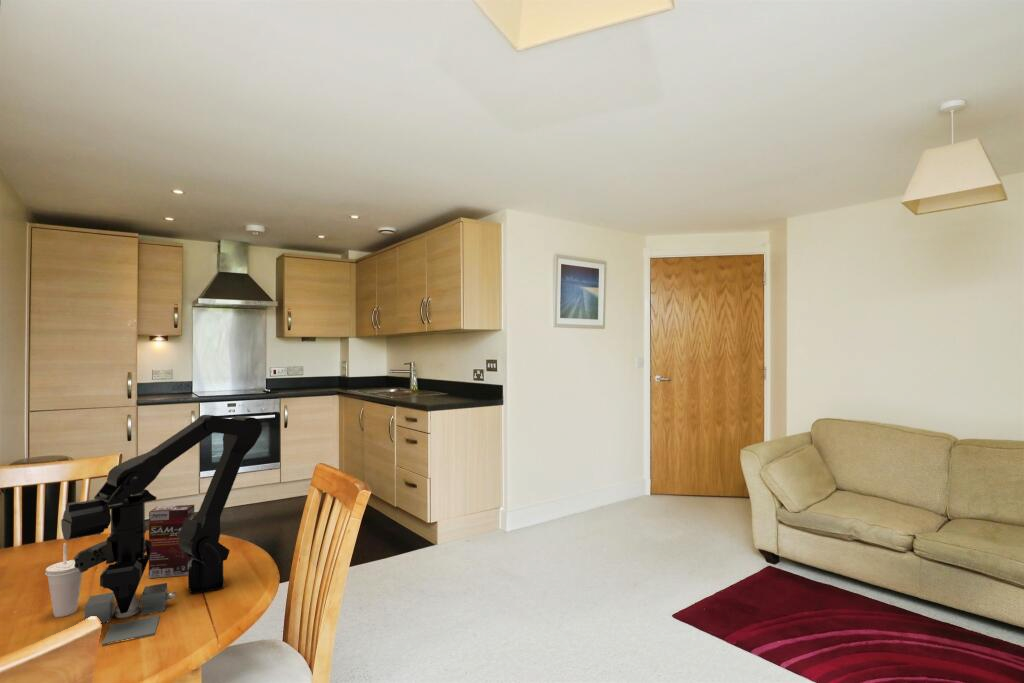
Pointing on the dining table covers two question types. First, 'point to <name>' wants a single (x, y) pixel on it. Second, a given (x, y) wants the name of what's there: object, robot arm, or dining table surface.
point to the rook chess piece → (131, 611)
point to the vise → (150, 602)
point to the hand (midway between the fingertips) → (127, 603)
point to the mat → (131, 629)
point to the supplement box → (168, 541)
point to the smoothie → (64, 585)
